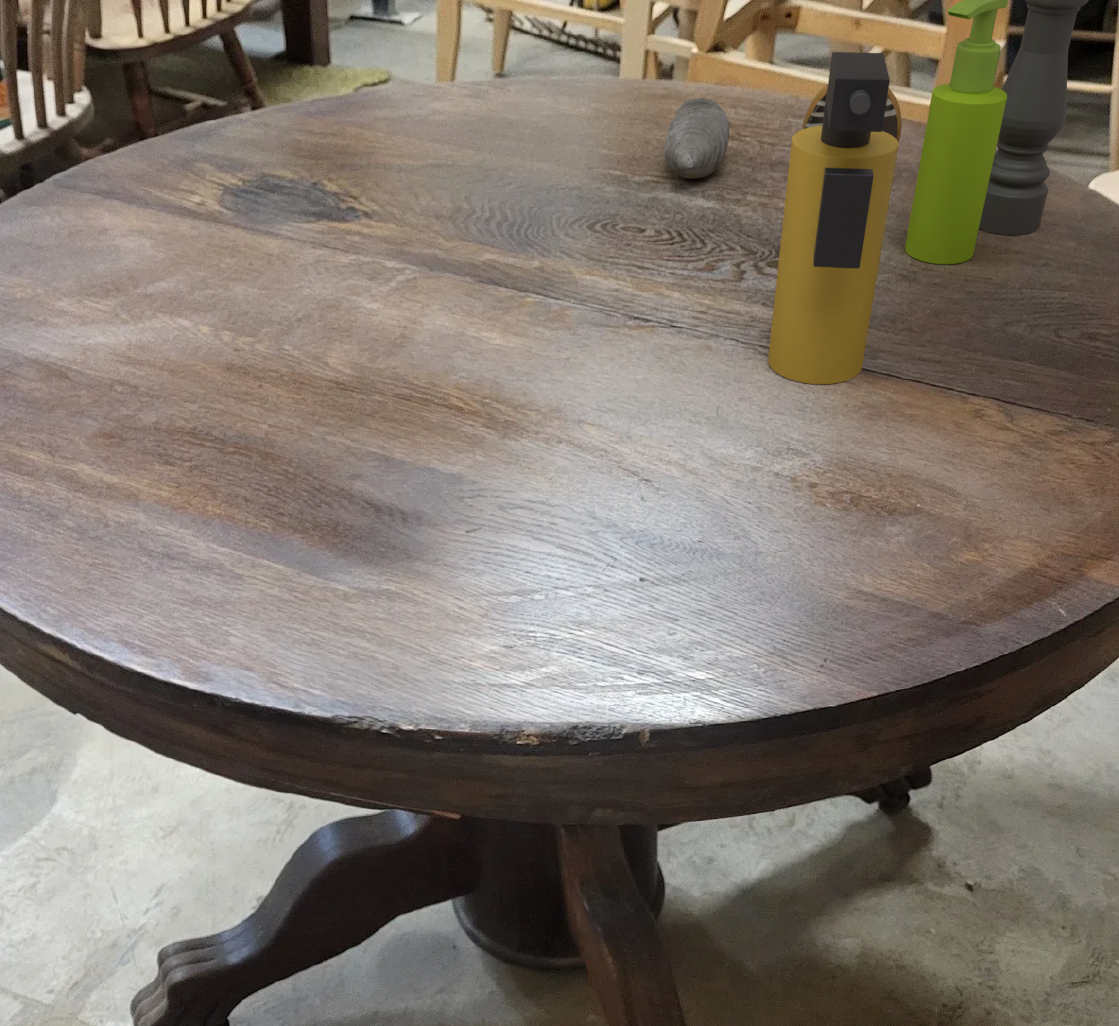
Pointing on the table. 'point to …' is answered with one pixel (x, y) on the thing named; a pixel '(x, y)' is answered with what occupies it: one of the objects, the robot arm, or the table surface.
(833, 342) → the spray bottle
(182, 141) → the table surface
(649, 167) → the table surface
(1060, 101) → the candle holder
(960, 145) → the soap dispenser
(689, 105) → the seashell
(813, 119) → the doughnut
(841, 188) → the trigger
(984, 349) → the table surface
